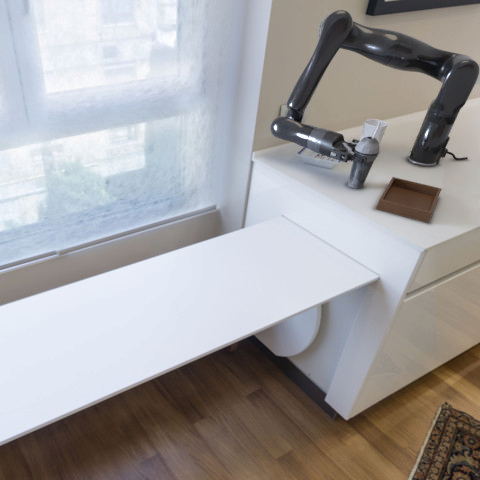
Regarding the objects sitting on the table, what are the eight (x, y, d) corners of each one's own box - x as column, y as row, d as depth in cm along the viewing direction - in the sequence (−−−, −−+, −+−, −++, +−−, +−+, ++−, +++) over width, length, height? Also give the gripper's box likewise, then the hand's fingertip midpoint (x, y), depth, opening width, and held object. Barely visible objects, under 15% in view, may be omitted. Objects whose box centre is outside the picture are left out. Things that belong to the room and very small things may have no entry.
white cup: (355, 152, 164) (364, 124, 157) (356, 144, 169) (365, 117, 162) (377, 155, 162) (387, 127, 155) (378, 148, 167) (387, 120, 160)
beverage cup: (339, 180, 146) (359, 118, 132) (360, 180, 146) (382, 117, 133) (348, 191, 140) (369, 126, 127) (370, 190, 141) (393, 126, 127)
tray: (389, 185, 144) (392, 176, 142) (437, 197, 138) (441, 188, 136) (375, 208, 132) (379, 199, 130) (427, 222, 126) (432, 213, 124)
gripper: (315, 135, 138) (363, 151, 129) (340, 125, 145) (387, 139, 136) (309, 159, 143) (355, 176, 134) (333, 148, 150) (378, 163, 142)
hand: (371, 157), depth 135 cm, fingers closed on beverage cup, 7 cm apart
